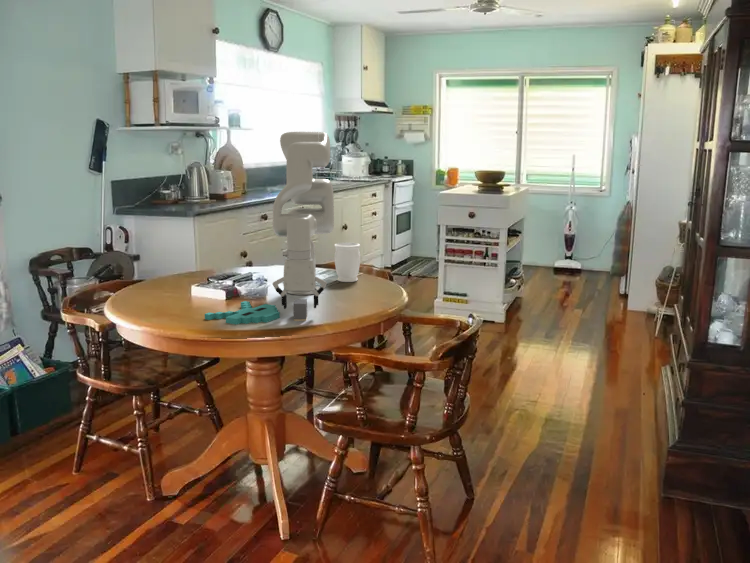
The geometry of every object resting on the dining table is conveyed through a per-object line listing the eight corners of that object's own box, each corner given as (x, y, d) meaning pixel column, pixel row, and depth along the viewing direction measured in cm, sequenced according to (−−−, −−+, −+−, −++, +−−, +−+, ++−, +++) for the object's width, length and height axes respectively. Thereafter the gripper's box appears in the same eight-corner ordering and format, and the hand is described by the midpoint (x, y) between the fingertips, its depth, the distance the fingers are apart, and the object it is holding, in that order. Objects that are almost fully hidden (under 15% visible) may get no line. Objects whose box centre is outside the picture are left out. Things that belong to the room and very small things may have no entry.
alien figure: (204, 320, 220) (253, 328, 211) (204, 313, 220) (253, 321, 210) (245, 307, 237) (291, 314, 228) (244, 301, 237) (291, 307, 227)
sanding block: (295, 315, 225) (294, 299, 224) (307, 315, 225) (306, 299, 224) (293, 321, 218) (293, 304, 217) (306, 320, 218) (305, 304, 217)
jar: (365, 279, 281) (365, 243, 277) (350, 284, 272) (350, 247, 269) (344, 276, 286) (344, 241, 283) (329, 281, 278) (329, 244, 275)
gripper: (270, 257, 213) (272, 310, 216) (326, 257, 214) (326, 310, 217) (272, 253, 221) (274, 305, 224) (326, 253, 221) (327, 304, 225)
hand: (300, 307), depth 220 cm, fingers open, 9 cm apart
